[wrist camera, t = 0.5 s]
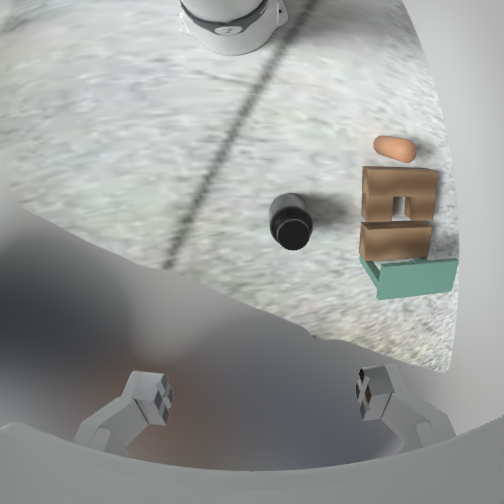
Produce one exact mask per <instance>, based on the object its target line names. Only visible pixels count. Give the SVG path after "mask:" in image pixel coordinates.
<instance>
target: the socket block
mask: <svg viewBox="0 0 504 504" xmlns="http://www.w3.org/2000/svg"><path fill="white" fill-rule="evenodd" d="M436 184H437V172H435V171H432V170H430V169H426V168H407V167H373V166H363V175H362V213H361V215H362V216H363V217H364V218H365V219H366V221H367V222H361V232H360V247H359V253H360V255H361V256H362V258H363V259H364V261H380V260H394V259H408V258H422V257H428V251H429V245H430V239H431V232H432V227H431V226H430V225H428V224H427V223H426V222H424V221H427V220H433V216H434V207H435V197H436ZM393 197H406V198H405V211H404V214H405V215H406V216H407V217H409V218H410V219H411V220H413V221H392V210H393Z"/></svg>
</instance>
